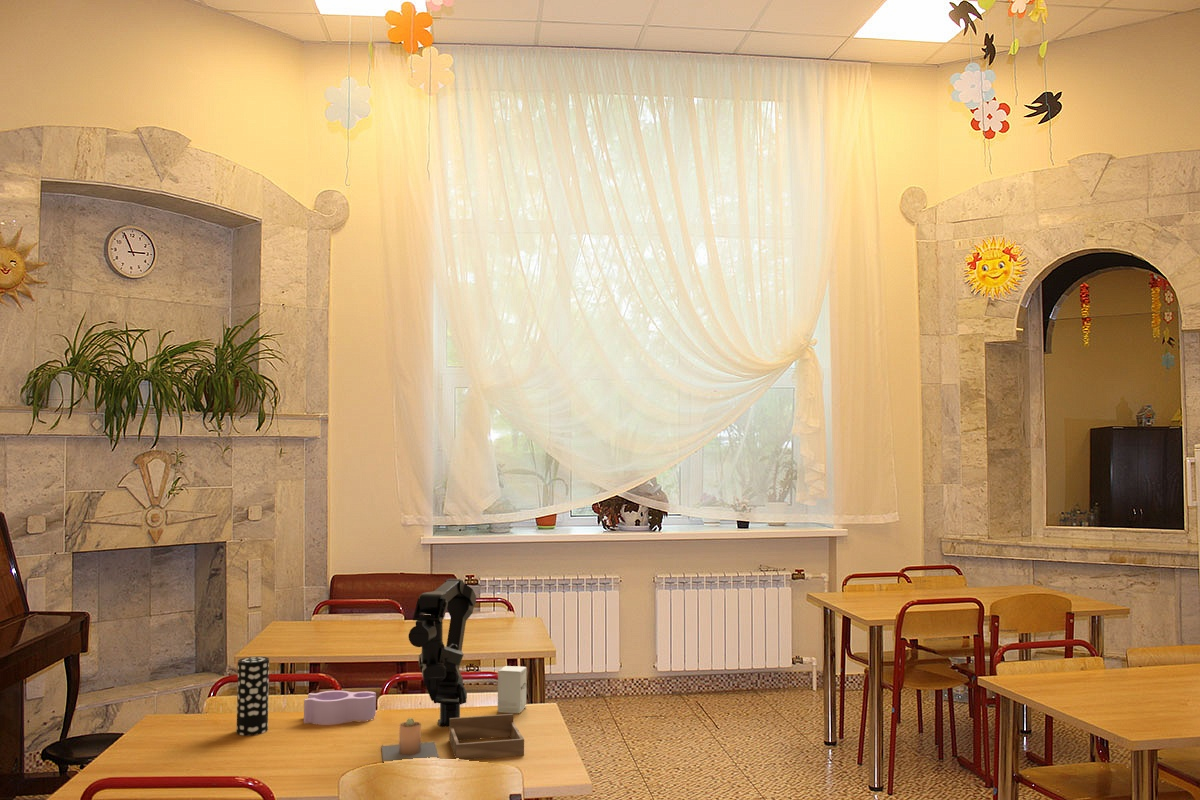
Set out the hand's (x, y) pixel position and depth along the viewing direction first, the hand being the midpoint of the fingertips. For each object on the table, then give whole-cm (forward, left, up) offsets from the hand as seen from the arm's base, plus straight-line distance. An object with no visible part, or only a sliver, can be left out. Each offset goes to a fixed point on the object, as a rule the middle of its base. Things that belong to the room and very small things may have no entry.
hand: (432, 695), depth 260 cm
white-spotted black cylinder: (-21, -49, -12) cm, 54 cm away
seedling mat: (+11, -7, -12) cm, 18 cm away
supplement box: (-24, +26, -12) cm, 37 cm away
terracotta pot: (+11, -7, -11) cm, 17 cm away
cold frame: (+11, +13, -12) cm, 21 cm away
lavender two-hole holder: (-27, -25, -12) cm, 39 cm away
